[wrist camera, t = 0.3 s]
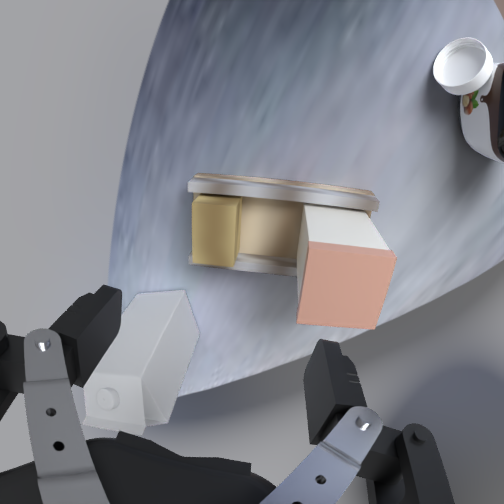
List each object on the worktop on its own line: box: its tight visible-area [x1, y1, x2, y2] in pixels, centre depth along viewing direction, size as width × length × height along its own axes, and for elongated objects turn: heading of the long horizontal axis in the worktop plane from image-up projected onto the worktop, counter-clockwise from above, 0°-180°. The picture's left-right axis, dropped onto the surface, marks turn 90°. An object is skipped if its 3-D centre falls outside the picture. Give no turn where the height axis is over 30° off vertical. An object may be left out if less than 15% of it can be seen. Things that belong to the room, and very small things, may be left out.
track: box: [188, 173, 379, 277], centre depth 31 cm, size 18×9×6 cm, turn 86°
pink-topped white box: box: [296, 202, 397, 329], centre depth 27 cm, size 6×6×11 cm
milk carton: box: [83, 290, 200, 436], centre depth 32 cm, size 7×7×19 cm
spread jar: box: [433, 37, 504, 164], centre depth 20 cm, size 12×11×12 cm
